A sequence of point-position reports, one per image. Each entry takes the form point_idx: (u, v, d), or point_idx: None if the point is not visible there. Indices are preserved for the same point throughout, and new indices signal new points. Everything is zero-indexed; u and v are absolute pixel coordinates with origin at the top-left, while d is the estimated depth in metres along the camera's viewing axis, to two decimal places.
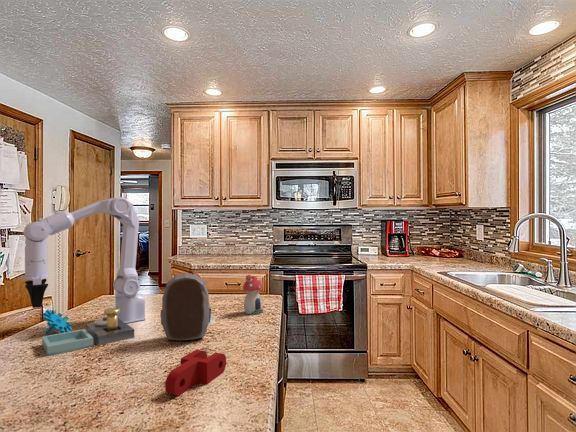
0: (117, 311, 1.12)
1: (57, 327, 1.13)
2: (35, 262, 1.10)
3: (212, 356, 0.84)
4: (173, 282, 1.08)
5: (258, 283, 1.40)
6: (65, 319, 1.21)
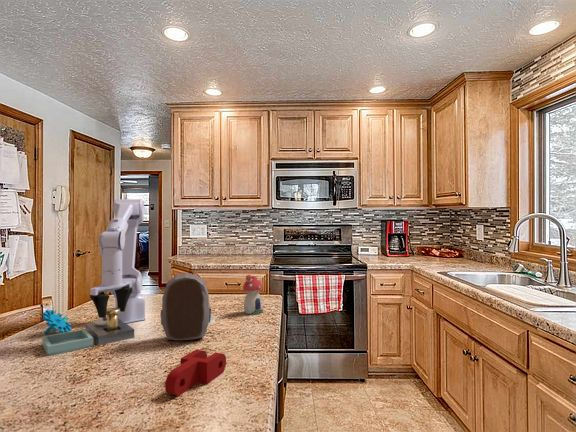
0: (117, 311, 1.12)
1: (56, 327, 1.13)
2: (104, 271, 1.10)
3: (212, 356, 0.84)
4: (173, 282, 1.08)
5: (258, 283, 1.40)
6: (65, 319, 1.21)
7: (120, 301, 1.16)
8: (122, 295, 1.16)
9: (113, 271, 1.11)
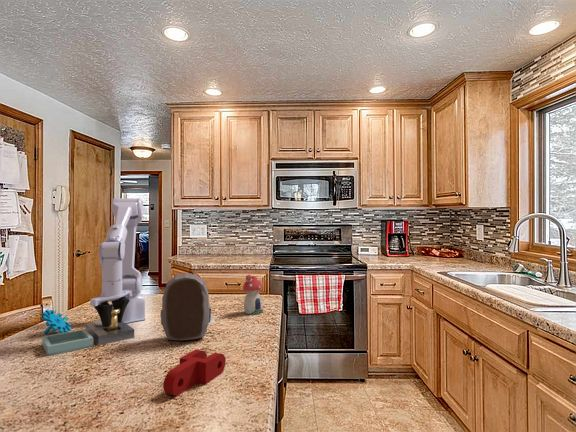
0: (117, 311, 1.12)
1: (56, 327, 1.13)
2: (104, 282, 1.10)
3: (211, 356, 0.84)
4: (173, 282, 1.08)
5: (258, 283, 1.40)
6: (65, 319, 1.21)
7: None
8: (119, 306, 1.15)
9: (113, 281, 1.11)
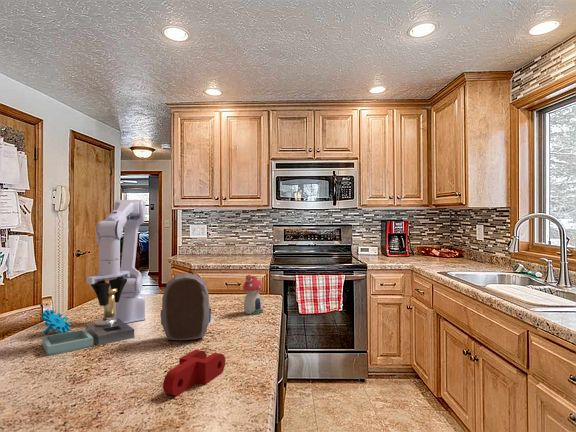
0: (114, 290, 1.11)
1: (55, 327, 1.13)
2: (101, 261, 1.10)
3: (211, 356, 0.84)
4: (173, 282, 1.08)
5: (258, 283, 1.40)
6: (64, 319, 1.21)
7: None
8: (116, 286, 1.14)
9: (110, 260, 1.10)
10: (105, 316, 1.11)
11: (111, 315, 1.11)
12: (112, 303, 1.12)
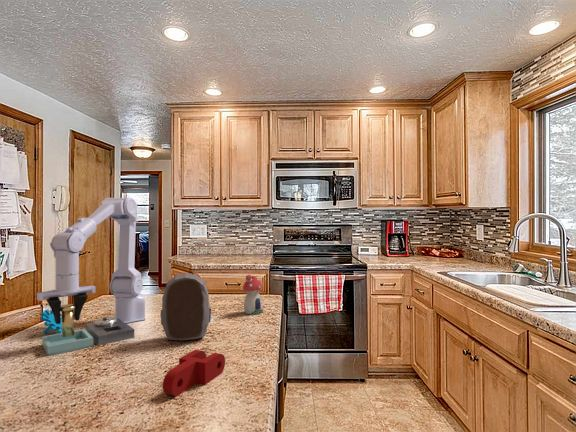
0: (69, 308, 1.03)
1: (54, 327, 1.13)
2: None
3: (211, 356, 0.84)
4: (173, 282, 1.08)
5: (258, 283, 1.40)
6: None
7: None
8: (76, 302, 1.06)
9: (63, 275, 1.02)
10: (62, 335, 1.04)
11: (67, 334, 1.04)
12: (68, 321, 1.04)
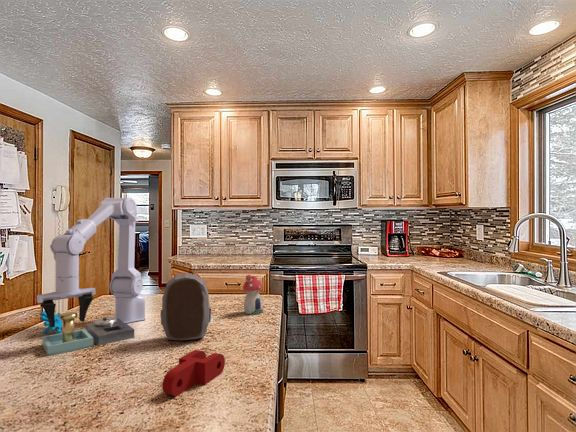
0: (70, 316, 1.04)
1: (53, 327, 1.13)
2: (56, 278, 1.03)
3: (210, 356, 0.84)
4: (173, 282, 1.08)
5: (258, 283, 1.40)
6: None
7: (80, 309, 1.08)
8: (82, 303, 1.08)
9: (63, 278, 1.02)
10: None
11: None
12: (69, 330, 1.04)
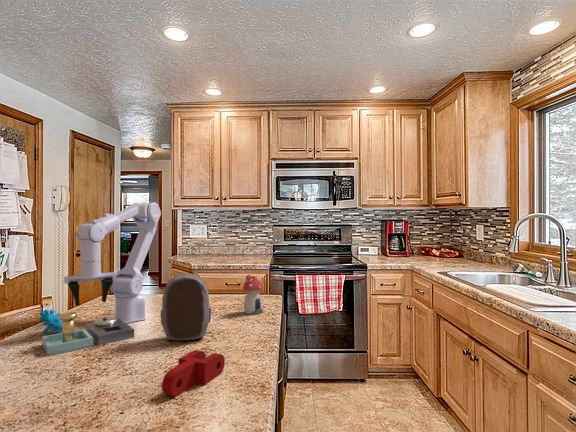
0: (70, 317, 1.04)
1: (53, 327, 1.13)
2: None
3: (210, 357, 0.84)
4: (173, 282, 1.08)
5: (258, 283, 1.40)
6: None
7: (103, 291, 1.20)
8: (103, 286, 1.19)
9: (86, 262, 1.14)
10: None
11: None
12: (68, 330, 1.04)
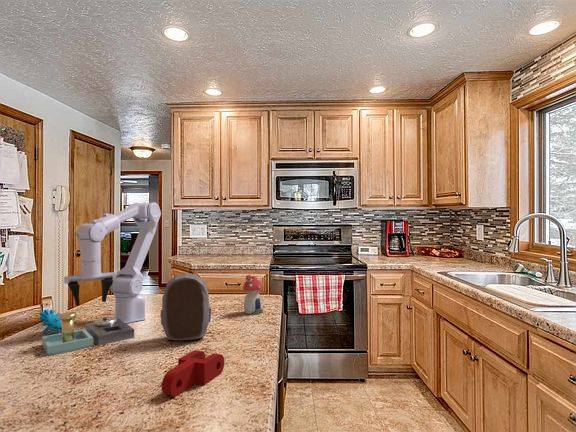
0: (69, 316, 1.04)
1: (52, 327, 1.13)
2: None
3: (210, 357, 0.84)
4: (173, 282, 1.08)
5: (258, 283, 1.40)
6: None
7: (103, 291, 1.20)
8: (103, 286, 1.19)
9: (86, 262, 1.14)
10: None
11: None
12: (68, 330, 1.04)
